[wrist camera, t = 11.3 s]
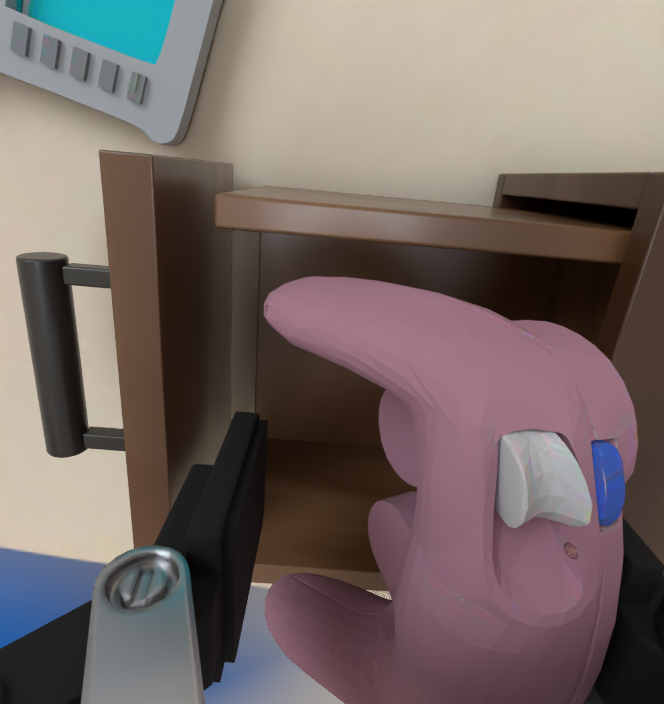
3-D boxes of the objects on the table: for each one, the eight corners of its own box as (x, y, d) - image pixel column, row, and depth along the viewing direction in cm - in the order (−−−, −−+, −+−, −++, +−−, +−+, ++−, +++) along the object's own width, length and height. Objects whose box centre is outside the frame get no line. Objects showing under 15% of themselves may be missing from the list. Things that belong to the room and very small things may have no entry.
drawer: (121, 440, 23) (3, 587, 15) (94, 150, 18) (-102, 130, 10) (508, 469, 24) (602, 627, 15) (582, 196, 19) (776, 213, 11)
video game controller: (388, 558, 15) (578, 807, 9) (253, 609, 13) (388, 967, 7) (425, 255, 11) (774, 351, 6) (248, 261, 9) (507, 419, 4)
